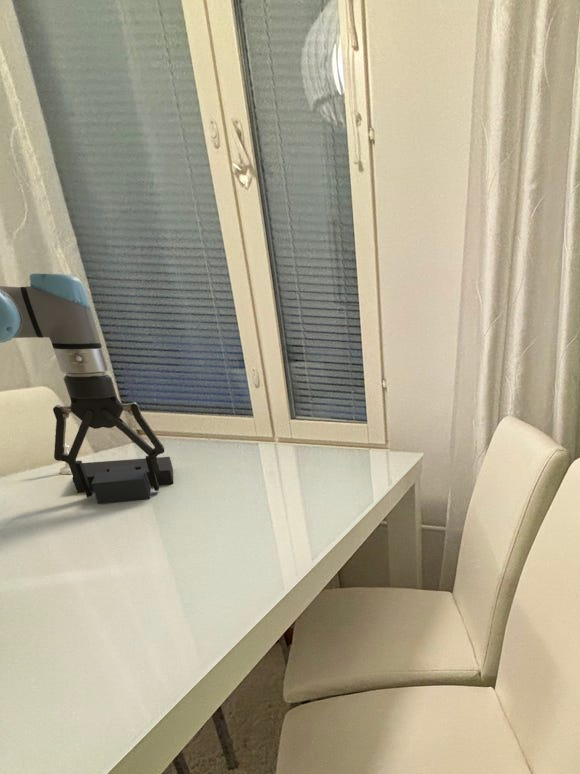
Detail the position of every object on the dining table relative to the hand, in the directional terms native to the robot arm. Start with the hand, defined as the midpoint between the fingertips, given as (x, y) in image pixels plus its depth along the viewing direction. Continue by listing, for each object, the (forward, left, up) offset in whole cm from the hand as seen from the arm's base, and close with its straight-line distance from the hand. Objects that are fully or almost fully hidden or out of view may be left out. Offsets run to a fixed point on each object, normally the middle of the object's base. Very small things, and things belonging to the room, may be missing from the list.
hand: (124, 492), depth 112 cm
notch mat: (0, +13, -1) cm, 13 cm away
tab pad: (0, +3, -1) cm, 3 cm away
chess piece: (-12, +26, -1) cm, 29 cm away
